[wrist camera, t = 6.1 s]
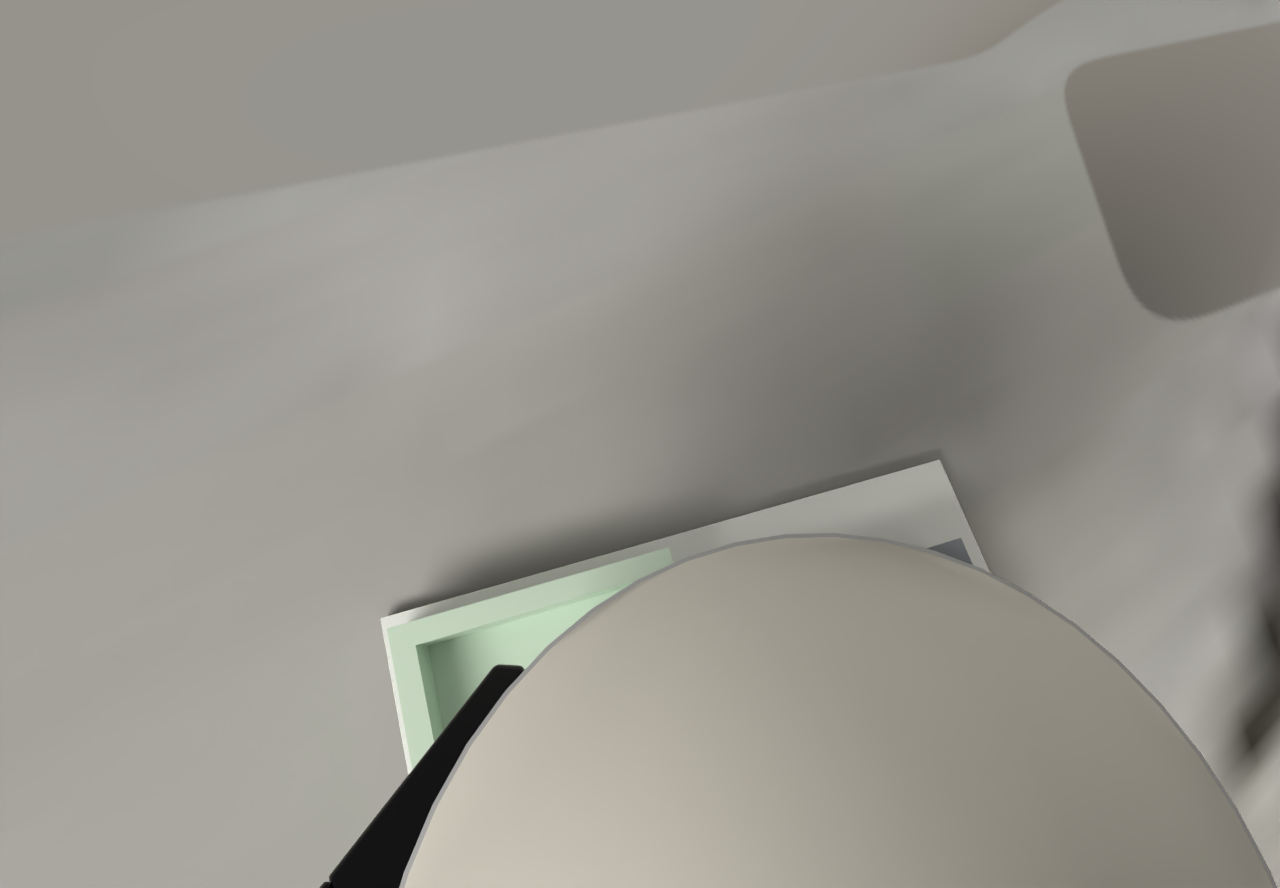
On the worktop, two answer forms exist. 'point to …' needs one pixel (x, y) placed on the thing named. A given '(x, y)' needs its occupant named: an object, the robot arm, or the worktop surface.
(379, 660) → the worktop surface
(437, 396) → the worktop surface
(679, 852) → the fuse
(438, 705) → the tray
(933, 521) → the panel plate
